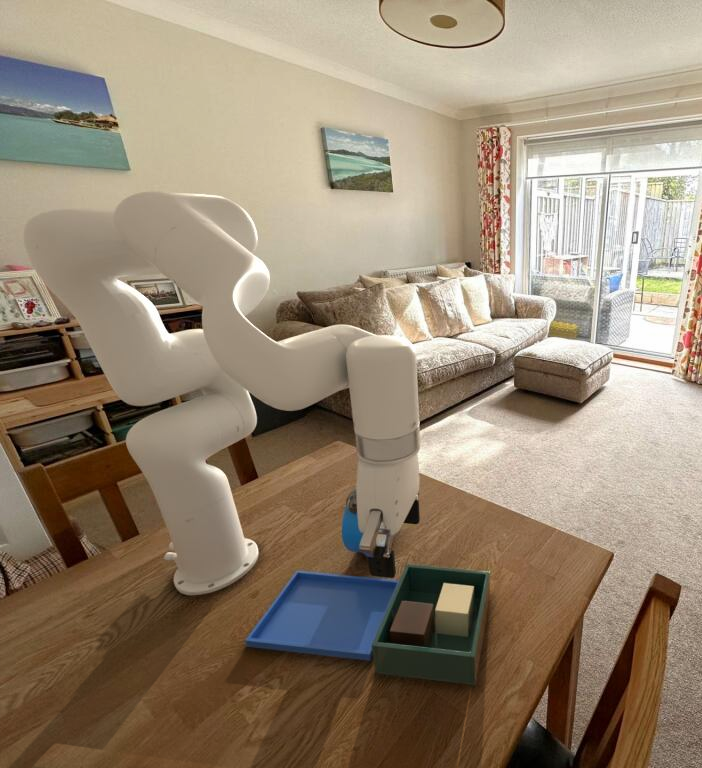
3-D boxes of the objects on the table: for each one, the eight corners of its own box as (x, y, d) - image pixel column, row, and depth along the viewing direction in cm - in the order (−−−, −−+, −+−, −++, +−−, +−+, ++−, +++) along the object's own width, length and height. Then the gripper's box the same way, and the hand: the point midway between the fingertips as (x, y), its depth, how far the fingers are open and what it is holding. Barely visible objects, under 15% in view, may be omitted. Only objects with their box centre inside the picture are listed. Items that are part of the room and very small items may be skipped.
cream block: (436, 633, 62) (434, 610, 60) (444, 605, 67) (443, 582, 65) (468, 637, 62) (467, 613, 60) (474, 608, 66) (474, 586, 64)
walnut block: (392, 655, 59) (389, 631, 57) (404, 623, 63) (401, 600, 62) (425, 658, 58) (423, 634, 57) (435, 626, 63) (433, 603, 61)
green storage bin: (375, 675, 57) (371, 645, 54) (408, 590, 70) (406, 563, 68) (475, 686, 56) (474, 657, 53) (489, 598, 69) (490, 571, 67)
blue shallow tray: (247, 648, 60) (244, 640, 59) (298, 577, 72) (296, 570, 71) (370, 662, 58) (369, 654, 58) (401, 587, 70) (401, 580, 70)
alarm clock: (376, 571, 73) (367, 504, 68) (344, 567, 74) (333, 500, 69) (404, 522, 85) (398, 462, 80) (377, 519, 86) (369, 459, 81)
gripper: (386, 405, 57) (393, 503, 64) (320, 476, 41) (340, 597, 48) (437, 410, 57) (440, 508, 63) (391, 483, 41) (401, 605, 47)
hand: (397, 546), depth 55 cm, fingers open, 9 cm apart
